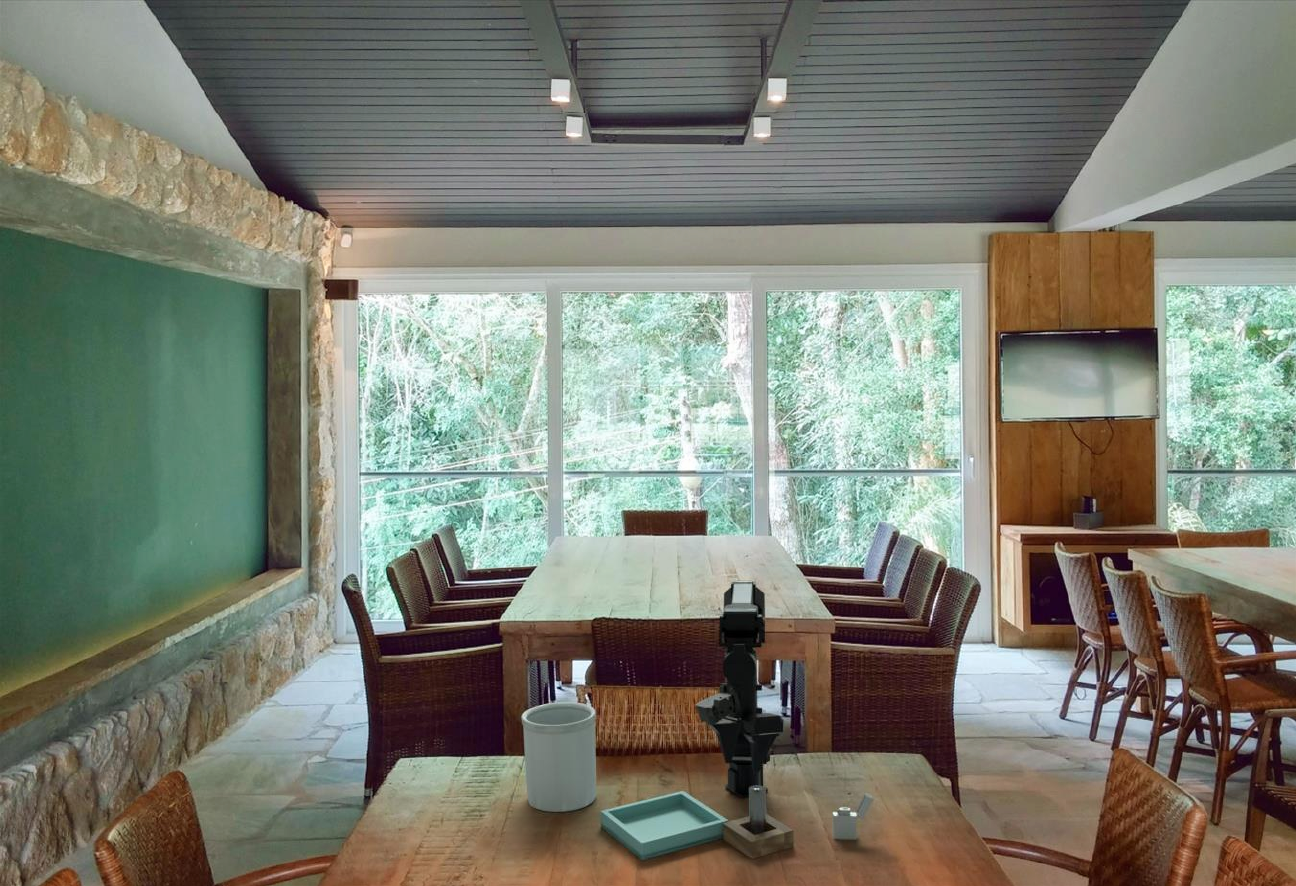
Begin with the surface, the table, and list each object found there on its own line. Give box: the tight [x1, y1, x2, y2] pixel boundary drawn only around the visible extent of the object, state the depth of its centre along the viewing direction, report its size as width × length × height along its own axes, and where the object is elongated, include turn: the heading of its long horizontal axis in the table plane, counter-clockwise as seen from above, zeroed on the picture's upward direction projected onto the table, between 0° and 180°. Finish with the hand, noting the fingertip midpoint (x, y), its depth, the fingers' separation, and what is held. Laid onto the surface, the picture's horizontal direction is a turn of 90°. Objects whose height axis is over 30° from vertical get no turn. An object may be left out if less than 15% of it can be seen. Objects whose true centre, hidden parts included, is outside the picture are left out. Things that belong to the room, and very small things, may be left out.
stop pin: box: [748, 785, 767, 835], centre depth 183 cm, size 3×3×10 cm
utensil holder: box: [521, 701, 597, 813], centre depth 204 cm, size 15×15×18 cm
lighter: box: [832, 792, 874, 840], centre depth 184 cm, size 7×2×8 cm, turn 85°
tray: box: [600, 790, 729, 861], centre depth 188 cm, size 18×16×3 cm
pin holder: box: [722, 813, 795, 860], centre depth 183 cm, size 9×9×3 cm
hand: (742, 767), depth 182 cm, fingers open, 9 cm apart
